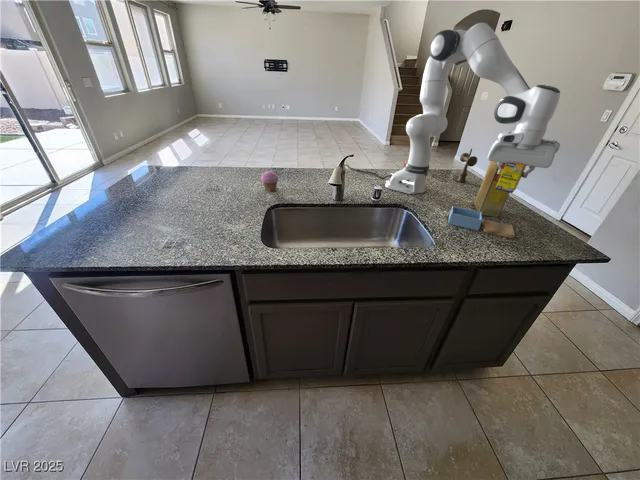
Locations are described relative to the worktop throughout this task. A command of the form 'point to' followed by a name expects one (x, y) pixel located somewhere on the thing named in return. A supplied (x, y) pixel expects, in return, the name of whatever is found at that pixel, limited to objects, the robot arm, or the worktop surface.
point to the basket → (465, 218)
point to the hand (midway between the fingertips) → (511, 175)
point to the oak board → (498, 228)
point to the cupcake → (269, 180)
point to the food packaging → (491, 192)
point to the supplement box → (510, 176)
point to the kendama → (466, 165)
